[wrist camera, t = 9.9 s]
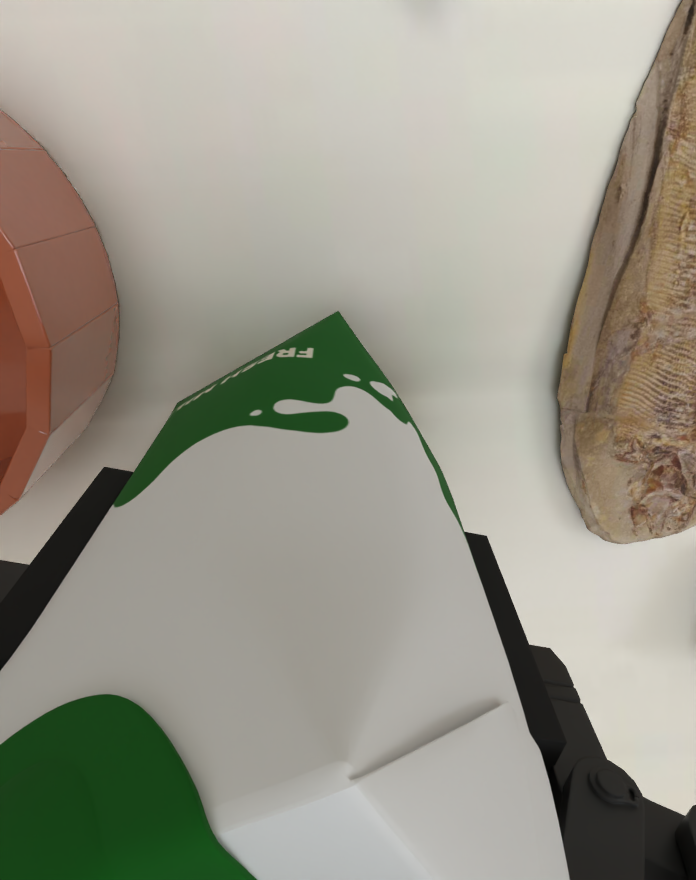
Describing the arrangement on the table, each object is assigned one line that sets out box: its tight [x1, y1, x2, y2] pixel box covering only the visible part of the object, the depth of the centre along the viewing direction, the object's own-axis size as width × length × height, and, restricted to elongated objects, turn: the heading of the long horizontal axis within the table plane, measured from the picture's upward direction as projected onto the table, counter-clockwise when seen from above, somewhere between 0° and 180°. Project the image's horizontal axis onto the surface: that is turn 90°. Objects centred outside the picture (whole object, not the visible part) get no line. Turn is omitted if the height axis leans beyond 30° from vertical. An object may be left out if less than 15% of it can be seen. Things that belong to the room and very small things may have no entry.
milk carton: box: [0, 311, 570, 880], centre depth 14 cm, size 9×9×20 cm
